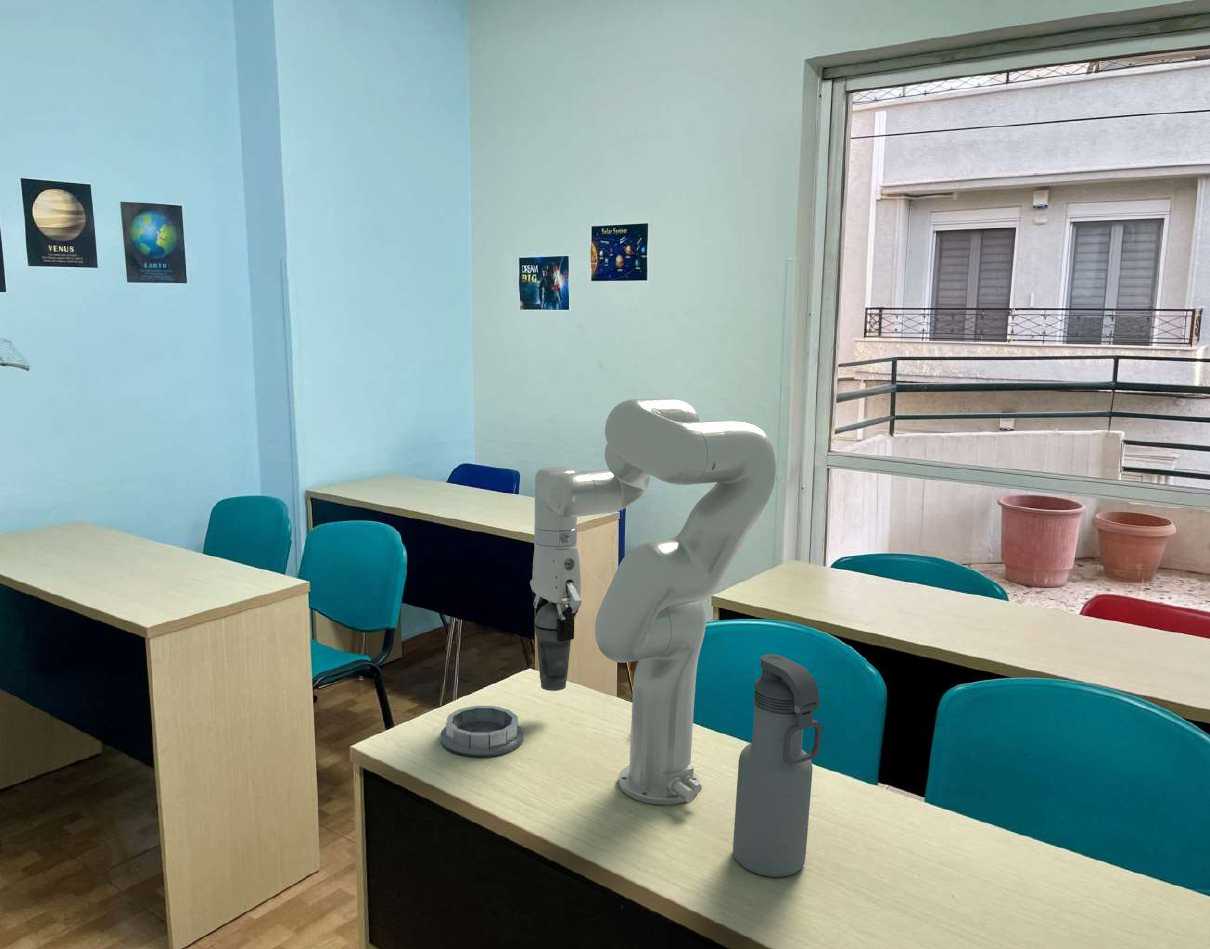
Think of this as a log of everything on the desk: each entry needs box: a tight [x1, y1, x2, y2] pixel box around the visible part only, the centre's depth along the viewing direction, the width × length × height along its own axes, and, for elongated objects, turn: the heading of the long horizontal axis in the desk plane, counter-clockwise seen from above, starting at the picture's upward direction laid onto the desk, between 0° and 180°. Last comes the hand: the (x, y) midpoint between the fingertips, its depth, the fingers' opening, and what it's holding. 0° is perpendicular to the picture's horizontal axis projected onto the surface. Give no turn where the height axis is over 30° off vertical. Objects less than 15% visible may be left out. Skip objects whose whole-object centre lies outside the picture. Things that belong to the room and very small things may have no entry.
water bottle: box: [732, 653, 823, 878], centre depth 125 cm, size 10×10×28 cm
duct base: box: [440, 705, 524, 759], centre depth 160 cm, size 14×14×4 cm
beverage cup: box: [533, 601, 572, 692], centre depth 167 cm, size 7×7×20 cm
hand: (554, 633), depth 167 cm, fingers closed on beverage cup, 7 cm apart
